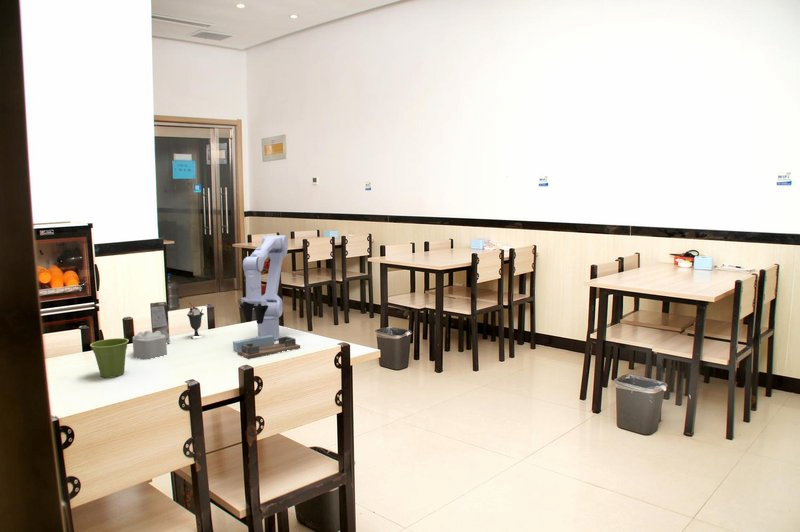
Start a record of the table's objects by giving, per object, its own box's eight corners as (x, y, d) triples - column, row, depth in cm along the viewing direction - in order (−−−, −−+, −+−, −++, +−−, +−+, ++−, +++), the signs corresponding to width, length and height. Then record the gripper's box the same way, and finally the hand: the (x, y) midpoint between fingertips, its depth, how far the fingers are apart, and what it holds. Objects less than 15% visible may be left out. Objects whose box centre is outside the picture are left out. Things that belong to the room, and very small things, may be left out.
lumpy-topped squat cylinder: (144, 360, 222) (142, 337, 221) (127, 354, 231) (125, 332, 230) (170, 354, 230) (169, 332, 229) (153, 349, 239) (152, 327, 238)
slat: (233, 351, 234) (232, 341, 233) (270, 344, 244) (270, 334, 244) (236, 353, 232) (236, 343, 231) (274, 346, 242) (274, 336, 241)
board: (237, 354, 229) (236, 344, 229) (288, 344, 243) (288, 335, 243) (248, 359, 222) (247, 349, 222) (300, 348, 236) (300, 339, 236)
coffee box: (170, 343, 246) (167, 305, 244) (153, 345, 244) (150, 306, 242) (168, 339, 254) (166, 301, 252) (152, 340, 252) (149, 302, 250)
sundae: (184, 338, 255) (182, 303, 253) (196, 335, 261) (194, 300, 259) (196, 340, 252) (194, 304, 250) (208, 336, 258) (206, 301, 256)
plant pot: (120, 367, 214) (118, 336, 212) (137, 373, 206) (135, 341, 205) (86, 375, 204) (83, 343, 203) (102, 382, 197) (99, 348, 196)
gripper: (234, 287, 236) (234, 321, 237) (255, 289, 226) (256, 325, 227) (249, 285, 241) (250, 319, 242) (271, 288, 231) (271, 323, 232)
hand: (254, 322), depth 235 cm, fingers open, 7 cm apart
